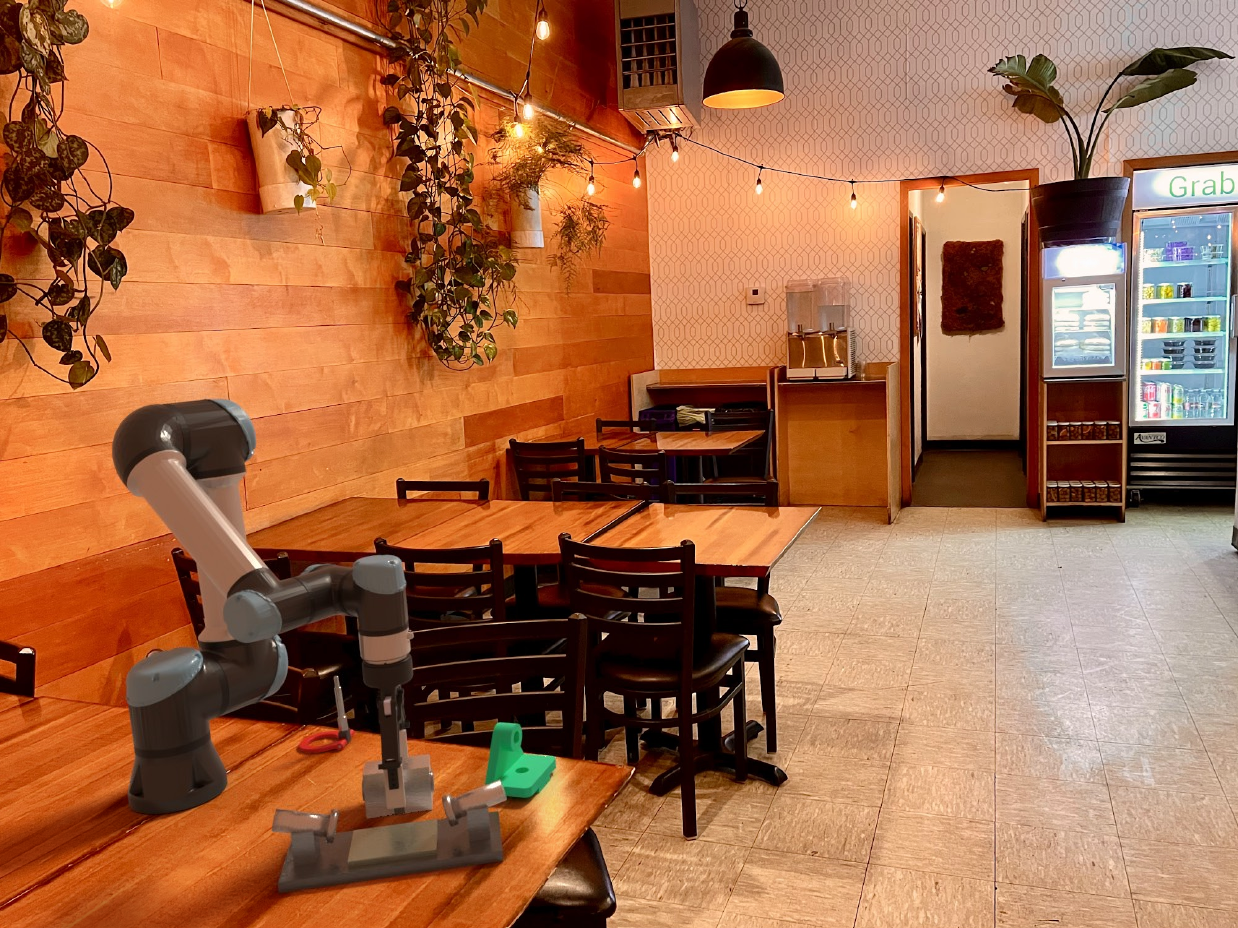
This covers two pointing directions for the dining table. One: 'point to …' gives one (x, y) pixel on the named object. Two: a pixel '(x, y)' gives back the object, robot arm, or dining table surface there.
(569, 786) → the dining table surface
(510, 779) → the camera mount
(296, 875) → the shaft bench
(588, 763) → the dining table surface
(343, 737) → the tow hook
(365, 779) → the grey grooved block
